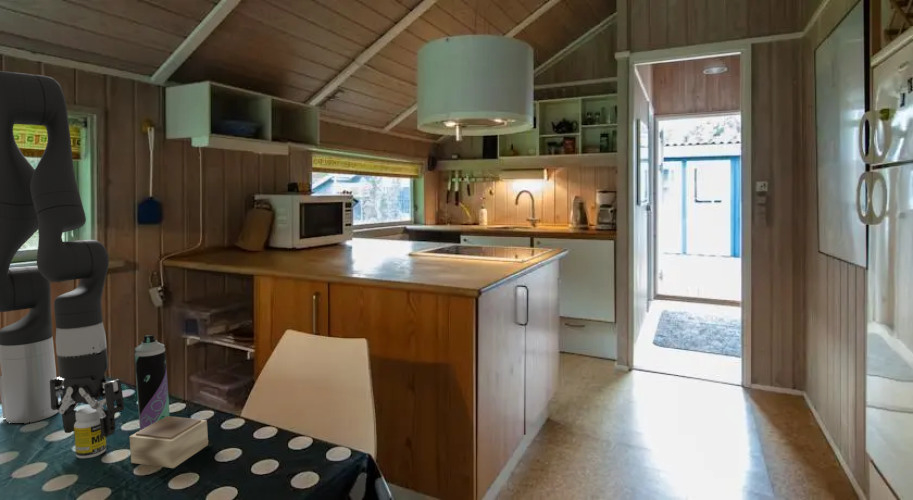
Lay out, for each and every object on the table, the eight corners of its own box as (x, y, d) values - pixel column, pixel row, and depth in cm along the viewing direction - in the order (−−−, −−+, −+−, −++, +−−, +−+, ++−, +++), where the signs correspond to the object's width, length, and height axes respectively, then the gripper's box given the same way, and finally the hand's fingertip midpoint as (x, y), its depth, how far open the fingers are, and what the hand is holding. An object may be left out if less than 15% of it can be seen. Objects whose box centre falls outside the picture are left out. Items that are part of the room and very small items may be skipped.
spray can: (147, 437, 105) (140, 340, 103) (135, 430, 109) (128, 336, 107) (175, 428, 110) (168, 334, 108) (163, 421, 113) (156, 330, 111)
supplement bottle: (95, 459, 97) (91, 415, 96) (69, 459, 97) (66, 415, 96) (112, 446, 102) (109, 405, 101) (88, 446, 102) (85, 405, 101)
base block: (131, 462, 96) (129, 434, 95) (168, 440, 104) (167, 414, 104) (173, 468, 94) (171, 439, 93) (208, 444, 102) (206, 418, 102)
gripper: (31, 352, 95) (39, 438, 97) (95, 356, 92) (102, 445, 93) (70, 341, 102) (77, 422, 104) (130, 344, 99) (137, 427, 101)
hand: (89, 433), depth 99 cm, fingers open, 8 cm apart
